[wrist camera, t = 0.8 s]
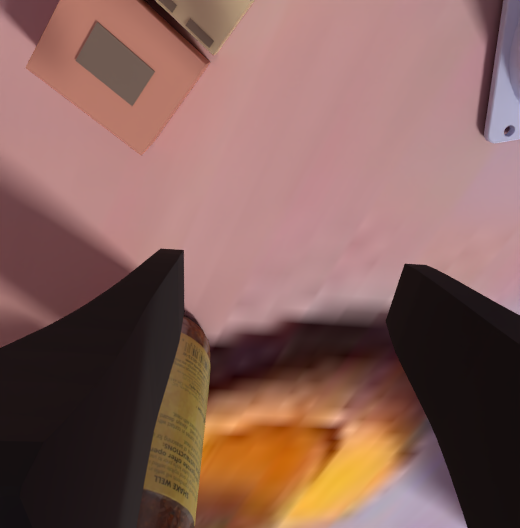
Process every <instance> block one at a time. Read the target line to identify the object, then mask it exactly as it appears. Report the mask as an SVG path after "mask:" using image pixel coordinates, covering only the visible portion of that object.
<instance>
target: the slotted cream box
mask: <svg viewBox="0 0 520 528" xmlns="http://www.w3.org/2000/svg"><path fill="white" fill-rule="evenodd" d="M155 1H156V2H157V3H158V4H159V5H160V6H161V7H163V8H164V9H165V10H166V11H167V12H168V13H169V14H170V15H171V16H172V17H173V18H174V19H175V20H176V21H177V22H178V23H179V24H181V25H182V26H183V27H184V28H185V29H186V30H187V31H188V32H189V33H190V34H191V35H192V36H193V37H194V38H195V39H196V40H197V41H199V42H200V43H201V44H202V45H203V46H204V47H205V48H206V49H207V50H208V51H209V52H210V53H211V54H212V55H216V54H217V52H218V51H219V50H220V48H221V47H222V45H223V44H224V43H225V41H226V40H227V38H228V37H229V36H230V34H231V33H232V31H233V30H234V29H235V27H236V26H237V24H238V23H239V22H240V20H241V19H242V17H243V16H244V14H245V13H246V12H247V10H248V9H249V7H250V6H251V5H252V3H253V2H254V0H155Z"/></svg>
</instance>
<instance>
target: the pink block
mask: <svg viewBox="0 0 520 528" xmlns="http://www.w3.org/2000/svg"><path fill="white" fill-rule="evenodd" d="M209 64H210V61H208V60H207V59H206V58H205V57H204V56H203V55H202V54H201V53H200V52H199V51H198V50H197V49H196V48H195V47H193V46H192V45H191V44H190V43H189V42H188V41H187V40H186V39H185V38H184V37H183V36H182V35H181V34H180V33H178V32H177V31H176V30H175V29H174V28H173V27H172V26H171V25H170V24H169V23H168V22H167V21H166V20H165V19H164V18H162V17H161V16H160V15H159V14H158V13H157V12H156V11H155V10H154V9H153V8H152V7H151V6H150V5H149V4H147V3H146V2H145V1H144V0H60V1H59V3H58V5H57V7H56V9H55V11H54V13H53V15H52V17H51V19H50V21H49V23H48V25H47V26H46V28H45V30H44V32H43V34H42V36H41V38H40V40H39V42H38V44H37V46H36V48H35V50H34V52H33V54H32V56H31V58H30V60H29V62H28V64H27V66H26V69H28V70H29V71H30V72H32V73H33V74H34V75H36V76H37V77H38V78H40V79H41V80H42V81H44V82H45V83H46V84H48V85H49V86H50V87H51V88H53V89H54V90H55V91H57V92H58V93H59V94H61V95H62V96H63V97H65V98H66V99H67V100H69V101H70V102H71V103H73V104H74V105H75V106H77V107H78V108H79V109H81V110H82V111H83V112H84V113H86V114H87V115H88V116H90V117H91V118H92V119H94V120H95V121H96V122H98V123H99V124H100V125H102V126H103V127H104V128H106V129H107V130H108V131H110V132H111V133H112V134H113V135H115V136H116V137H117V138H119V139H120V140H121V141H123V142H124V143H125V144H127V145H128V146H129V147H131V148H132V149H133V150H135V151H136V152H137V153H139V154H140V155H142V154H143V153H144V152H145V151H146V150H147V149H148V148H149V147H150V146H151V145H152V144H153V142H154V141H155V140H156V138H157V137H158V135H159V134H160V133H161V131H162V130H163V128H164V127H165V126H166V124H167V123H168V121H169V120H170V119H171V117H172V116H173V114H174V113H175V112H176V110H177V109H178V107H179V106H180V105H181V103H182V102H183V100H184V99H185V97H186V96H187V95H188V93H189V92H190V90H191V89H192V88H193V86H194V85H195V83H196V82H197V81H198V79H199V78H200V76H201V75H202V74H203V72H204V71H205V69H206V68H207V67H208V65H209Z"/></svg>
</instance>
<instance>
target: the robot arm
mask: <svg viewBox="0 0 520 528" xmlns="http://www.w3.org/2000/svg"><path fill="white" fill-rule="evenodd" d="M507 126H510V130H509V132H508V133H507V134H505V135H504V130H505V128H506V127H507ZM484 137H485V139H486V140H487V141H489V142H491V143H501V142H507V141H513V140H519V139H520V0H503V6H502V13H501V20H500V27H499V34H498V41H497V48H496V55H495V62H494V68H493V75H492V82H491V89H490V96H489V103H488V110H487V117H486V123H485V130H484ZM183 316H184V250H174V249H160V250H158V251H157V252H156V253H155V254H153V255H152V256H151V257H150V258H148V259H147V260H146V261H145V262H144V263H142V264H141V265H140V266H139V267H137V268H136V269H135V270H134V271H133V272H131V273H130V274H129V275H127V276H126V277H125V278H124V279H122V280H121V281H120V282H118V283H117V284H115V285H114V286H112V287H111V288H110V289H108V290H107V291H105V292H104V293H102V294H101V295H99V296H98V297H97V298H95V299H94V300H92V301H91V302H89V303H88V304H86V305H84V306H83V307H81V308H79V309H78V310H76V311H74V312H73V313H71V314H69V315H67V316H65V317H64V318H62V319H60V320H58V321H56V322H55V323H53V324H51V325H49V326H47V327H45V328H43V329H41V330H38V331H36V332H34V333H32V334H30V335H28V336H25V337H23V338H21V339H19V340H17V341H15V342H13V343H10V344H8V345H6V346H4V347H2V348H0V528H136V527H137V521H138V515H139V510H140V504H141V499H142V493H143V488H144V482H145V476H146V471H147V465H148V460H149V455H150V450H151V444H152V439H153V434H154V429H155V425H156V421H157V417H158V413H159V410H160V407H161V403H162V400H163V396H164V393H165V390H166V386H167V383H168V380H169V376H170V373H171V369H172V366H173V363H174V359H175V356H176V352H177V349H178V345H179V341H180V335H181V329H182V323H183ZM386 324H387V327H388V330H389V334H390V337H391V340H392V343H393V346H394V349H395V352H396V354H397V356H398V358H399V361H400V363H401V365H402V367H403V369H404V371H405V373H406V375H407V377H408V379H409V381H410V383H411V385H412V387H413V389H414V391H415V393H416V395H417V397H418V399H419V401H420V403H421V405H422V407H423V410H424V412H425V414H426V416H427V418H428V420H429V422H430V424H431V426H432V429H433V431H434V433H435V435H436V438H437V440H438V443H439V446H440V448H441V451H442V454H443V457H444V459H445V462H446V465H447V467H448V470H449V473H450V476H451V479H452V482H453V485H454V488H455V491H456V494H457V497H458V500H459V503H460V505H461V508H462V511H463V514H464V518H465V521H466V524H467V528H520V315H518V314H516V313H514V312H512V311H510V310H509V309H507V308H505V307H503V306H501V305H499V304H498V303H496V302H494V301H492V300H490V299H489V298H487V297H485V296H483V295H482V294H480V293H478V292H476V291H475V290H473V289H471V288H469V287H468V286H466V285H464V284H462V283H460V282H459V281H457V280H455V279H453V278H451V277H450V276H448V275H446V274H444V273H442V272H440V271H438V270H436V269H434V268H432V267H429V266H427V265H416V264H405V265H404V268H403V271H402V274H401V277H400V280H399V283H398V286H397V289H396V292H395V295H394V298H393V301H392V304H391V307H390V310H389V313H388V316H387V319H386Z"/></svg>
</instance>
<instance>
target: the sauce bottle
mask: <svg viewBox="0 0 520 528" xmlns="http://www.w3.org/2000/svg"><path fill="white" fill-rule="evenodd" d="M209 378H210V345H209V342H208V339H207V338H206V336H205V334H204V332H203V330H202V329H201V328H200V327H199V326H198V325H197V324H195V323H194V322H193V321H192V320H190V319H189V318H187V317H184V316H183V323H182V329H181V335H180V341H179V345H178V349H177V352H176V356H175V359H174V363H173V366H172V369H171V373H170V376H169V380H168V383H167V386H166V390H165V393H164V396H163V400H162V403H161V407H160V410H159V413H158V417H157V421H156V425H155V429H154V434H153V439H152V444H151V450H150V455H149V460H148V465H147V471H146V476H145V482H144V488H143V493H142V499H141V504H140V510H139V515H138V521H137V527H136V528H194V526H195V517H196V508H197V498H198V488H199V478H200V469H201V458H202V448H203V438H204V429H205V419H206V410H207V400H208V389H209Z"/></svg>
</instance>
